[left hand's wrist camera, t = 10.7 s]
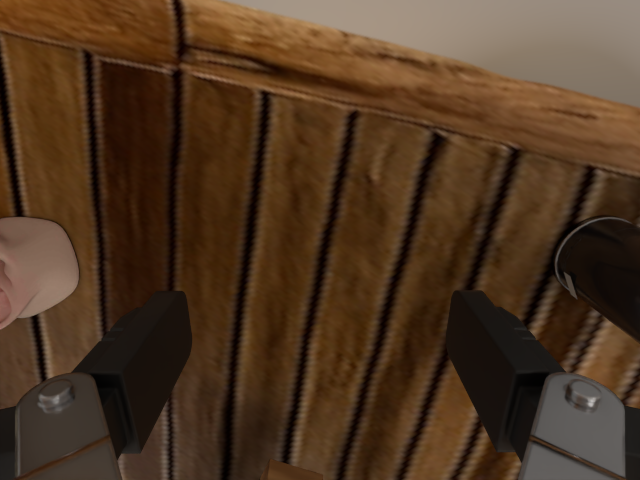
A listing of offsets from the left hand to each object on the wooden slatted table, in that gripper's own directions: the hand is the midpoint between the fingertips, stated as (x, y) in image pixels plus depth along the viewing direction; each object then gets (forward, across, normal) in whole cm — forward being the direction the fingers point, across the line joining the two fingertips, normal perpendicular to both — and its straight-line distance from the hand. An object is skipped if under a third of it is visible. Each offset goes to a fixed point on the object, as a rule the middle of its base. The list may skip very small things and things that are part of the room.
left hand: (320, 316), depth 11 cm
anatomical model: (+29, -34, -12) cm, 46 cm away
